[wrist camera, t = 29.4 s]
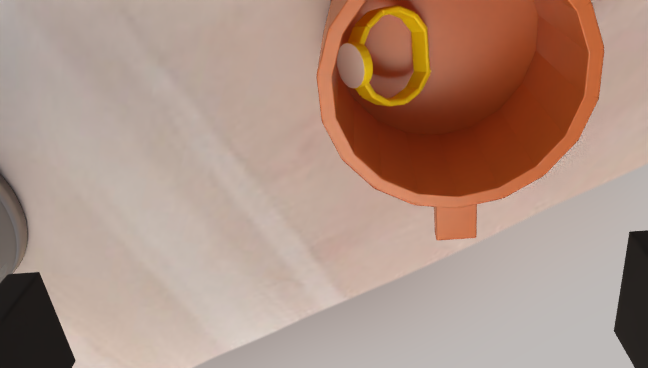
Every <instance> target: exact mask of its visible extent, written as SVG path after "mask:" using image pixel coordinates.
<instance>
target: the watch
mask: <svg viewBox="0 0 648 368" xmlns="http://www.w3.org/2000/svg"><path fill="white" fill-rule="evenodd" d="M388 14H390V15H393V16H395V17H398V18H400V19H401V20H402V21H403V22H404V23H405V25H406V26H407V27H408V29H409V30H410V31H411V37H412V53H413V69H414V72H413V74H412V76H411V78H410V80H409V82H408V84H407V86H406V87H405V88H404V89H403V90H401V91H400V92H399V93H398V94H396V95H395V96H394V97H392V98H384V97H382V96H381V95H379V94H377V93H375V91H374V90H373V88H372V86H371V85H370V83H369V82H370V80H371V78H372V73H373V63H372V59H371V55H370V53H369V51H368V49H367V48H366V46H365V42H366V39H367V36H368V34H369V31H370V29H371V28H372V27H373V26H374V25H375V24H376V23H377V21H378V20H379V19H380V18H381V17H382V16H384V15H388ZM337 67H338V72H339V75H340V77H341V79H342V80H343V82H344V83H345V84H346V85H347V86H348V87H350V88H353V89H356V91H357V92H358V94H359V95H360V96H361V97H362V98H364V99H366V100H368V101H370V102H371V103H373V104H375V105H382V106H397V105H405V104H406V103H409V102H410V101H411V100H412V99H413V98H415V97H416V96H417V95H418V94H420V92H421V91H422V90H423V88H424V86H425V84H426V82H427V80H428V78H429V76H430V72H431V70H430V62H429V47H428V28H427V26H426V25H425V24H424V22H423V21H422V20H421V18H420V17H419V15H418V14H416V13H415V12H414V11H412V10H409V9H407V8H405V7H402V6H389V7H382V8H378V9H374V10H370V12H367V13H366V14H365V15H364V16H363V17H362V18H361V19H360V20H359V21H358V22H357V23H356V24H355V27H353V29H352V32H351V35H350V38H349V40H348V42H346V43H344V44H343V45H342V46H341V47H340V49H339V52H338V56H337Z"/></svg>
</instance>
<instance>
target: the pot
mask: <svg viewBox="0 0 648 368" xmlns="http://www.w3.org/2000/svg"><path fill="white" fill-rule="evenodd" d="M389 6H402V7H405V8H407V9H409V10H412V11H414V12H415V13H416V14H418V15H419V17H420V18H421V20H422V21H423V22H424V24H425V25H426V26H427V28H428V47H429V62H430V70H431V72H430V76H429V78H428V80H427V82H426V84H425V86H424V88H423V90H422V91H421V92H420V94H418V95H417V96H416V97H415V98H413V99H412V100H411V101H410V102H409V103H406V104H405V105H397V106H382V105H375V104H373V103H371V102H370V101H368V100H366V99H364V98H362V97H361V96H360V95H359V94H358V92H357V91H356V89H353V88H350V87H348V86H347V85H346V84H345V83H344V82H343V80H342V79H341V77H340V75H339V72H338V67H337V56H338V52H339V49H340V47H341V46H342V45H343V44H344V43H346V42H348V40H349V38H350V35H351V32H352V29H353V27H355V24H356V23H357V22H358V21H359V20H360V19H361V18H362V17H363V16H364V15H365V14H366V13H367V12H370V10H374V9H378V8H382V7H389ZM365 46H366V48H367V49H368V51H369V53H370V55H371V59H372V63H373V73H372V78H371V80H370V82H369V83H370V85H371V86H372V88H373V90H374V91H375V93H377V94H379V95H381V96H382V97H384V98H392V97H394V96H395V95H396V94H398V93H399V92H400V91H401V90H403V89H404V88H405V87H406V86H407V84H408V82H409V80H410V78H411V76H412V74H413V72H414V69H413V53H412V37H411V31H410V30H409V29H408V27H407V26H406V25H405V23H404V22H403V21H402V20H401V19H400V18H398V17H395V16H393V15H390V14H388V15H384V16H382V17H381V18H380V19H379V20H378V21H377V23H376V24H375V25H374V26H373V27H372V28H371V29H370V31H369V34H368V36H367V39H366V42H365ZM603 57H604V45H603V41H602V38H601V34H600V30H599V27H598V23H597V20H596V16H595V12H594V9H593V5H592V3H591V0H331V4H330V8H329V12H328V16H327V20H326V24H325V29H324V33H323V39H322V45H321V51H320V58H319V64H318V70H317V84H318V93H319V101H320V109H321V118H322V123H323V125H324V126H325V128H326V130H327V132H328V134H329V136H330V138H331V140H332V142H333V144H334V145H335V147H336V149H337V151H338V153H339V155H340V157H341V159H342V160H343V161H344V162H345V163H346V164H347V165H349V166H350V167H351V168H352V169H353V170H354V171H355V172H356V173H357V174H359V175H360V176H361V177H362V178H363V179H364V180H365V181H366V182H368V183H369V184H370V185H371V186H372V187H373V188H375V189H377V190H379V191H382V192H384V193H386V194H389V195H391V196H394V197H396V198H399V199H401V200H403V201H406V202H408V203H411V204H414V205H419V206H432V207H434V221H435V235H436V239H437V240H450V239H464V238H476V220H477V204H480V203H484V202H489V201H493V200H498V199H502V198H505V197H506V196H508V195H510V194H512V193H514V192H515V191H517V190H519V189H521V188H523V187H524V186H526V185H528V184H530V183H532V182H533V181H535V180H537V179H539V178H541V177H542V176H543V175H545V174H546V173H547V172H548V171H549V170H550V169H551V168H552V167H553V166H554V165H555V164H556V163H557V162H558V161H559V159H560V158H561V157H562V156H563V155H564V154H565V153H566V152H567V151H568V150H569V149H570V148H571V147H572V146H573V145H574V144H575V143H576V142H577V141H578V139H579V137H580V135H581V133H582V131H583V129H584V127H585V125H586V123H587V121H588V119H589V117H590V115H591V113H592V111H593V109H594V107H595V105H596V103H597V101H598V99H599V92H600V83H601V74H602V66H603Z"/></svg>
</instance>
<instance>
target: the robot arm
mask: <svg viewBox="0 0 648 368" xmlns="http://www.w3.org/2000/svg"><path fill="white" fill-rule="evenodd" d="M26 246H27V225H26V221H25V216H24V213H23V211H22V208H21V206H20V203H19V201H18V199H17V197H16V196H15V194H14V192H13V191H12V189H11V188H10V186H9V185H8V184H7V182H6V181H5V180H4V179H3V177H2V176H1V175H0V368H72V366H73V364H74V363H75V358H74V356H73V353H72V351H71V348H70V346H69V344H68V341H67V339H66V336H65V334H64V331H63V329H62V326H61V324H60V322H59V319H58V317H57V314H56V312H55V309H54V307H53V305H52V302H51V300H50V297H49V295H48V292H47V290H46V287H45V285H44V283H43V280H42V278H41V275H40V273H39V272H34V273H20V274H13V272H14V271H15V270H16V269H17V267H18V266H19V264H20V263H21V261H22V259H23V256H24V254H25V250H26ZM614 332H615V334H616V336H617V337H618V339H619V341H620V342H621V344H622V346H623V348H624V349H625V351H626V353H627V355H628V356H629V358H630V360H631V361H632V363H633V365H634V367H635V368H648V231H634V232H629V238H628V245H627V251H626V258H625V265H624V270H623V277H622V283H621V289H620V296H619V302H618V309H617V315H616V321H615V328H614Z"/></svg>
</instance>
